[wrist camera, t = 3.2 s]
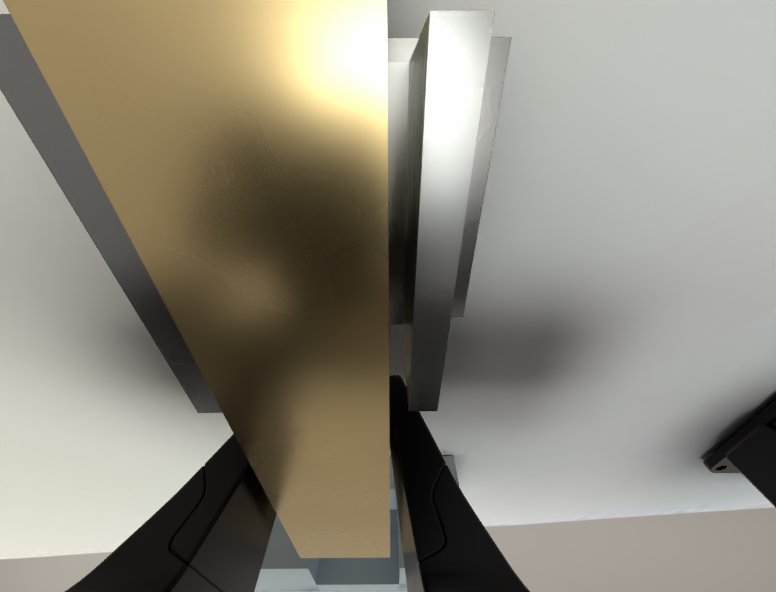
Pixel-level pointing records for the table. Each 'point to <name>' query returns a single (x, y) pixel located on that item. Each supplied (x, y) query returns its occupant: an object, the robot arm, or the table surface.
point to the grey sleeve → (405, 187)
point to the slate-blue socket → (335, 562)
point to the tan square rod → (254, 221)
